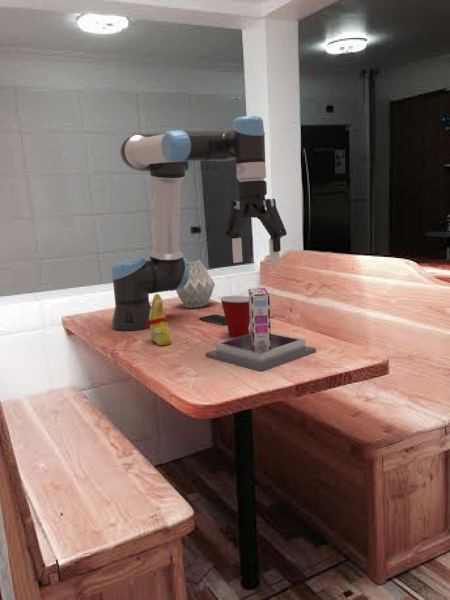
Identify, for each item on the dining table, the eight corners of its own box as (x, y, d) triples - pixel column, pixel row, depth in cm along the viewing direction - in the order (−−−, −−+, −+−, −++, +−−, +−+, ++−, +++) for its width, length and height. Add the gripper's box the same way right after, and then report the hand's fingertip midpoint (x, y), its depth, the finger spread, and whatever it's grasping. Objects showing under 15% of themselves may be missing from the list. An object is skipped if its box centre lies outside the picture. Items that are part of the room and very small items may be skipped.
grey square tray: (206, 356, 145) (205, 344, 145) (260, 339, 159) (259, 328, 158) (261, 371, 130) (260, 357, 129) (315, 351, 143) (315, 339, 143)
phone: (215, 314, 195) (241, 319, 183) (215, 317, 195) (241, 323, 183) (197, 317, 190) (222, 324, 179) (197, 321, 191) (222, 327, 179)
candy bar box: (272, 356, 139) (270, 293, 136) (253, 357, 139) (250, 295, 135) (268, 344, 150) (265, 286, 147) (250, 345, 150) (247, 288, 146)
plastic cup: (262, 336, 163) (260, 297, 161) (229, 341, 160) (226, 301, 157) (249, 328, 173) (247, 292, 171) (217, 333, 170) (215, 296, 167)
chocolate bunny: (163, 337, 169) (159, 290, 167) (174, 344, 160) (170, 295, 157) (142, 340, 167) (137, 293, 164) (152, 348, 157) (148, 298, 154)
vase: (224, 304, 216) (221, 258, 212) (194, 312, 204) (191, 264, 201) (196, 301, 227) (193, 257, 223) (167, 308, 215) (163, 262, 212)
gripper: (208, 184, 143) (213, 262, 147) (277, 177, 124) (281, 267, 128) (229, 183, 148) (234, 259, 152) (298, 176, 129) (301, 263, 133)
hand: (255, 263), depth 140 cm, fingers open, 13 cm apart
